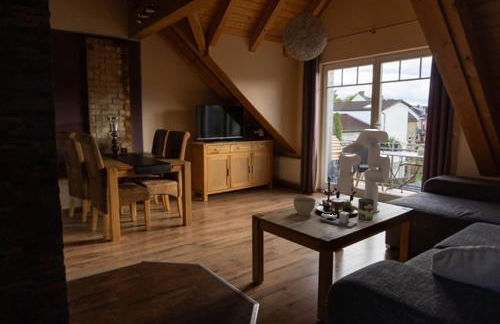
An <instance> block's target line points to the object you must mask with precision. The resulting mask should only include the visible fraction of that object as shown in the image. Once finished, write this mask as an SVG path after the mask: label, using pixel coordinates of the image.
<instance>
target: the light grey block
mask: <svg viewBox="0 0 500 324" xmlns="http://www.w3.org/2000/svg"><path fill="white" fill-rule="evenodd" d="M349 216H350V212H346V211H342V212H339V216H338V217H339V218H338V219H339V223H342V224H348V223H349V221H350V220H349V219H350V217H349Z"/></svg>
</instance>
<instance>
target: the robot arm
mask: <svg viewBox="0 0 500 324" xmlns="http://www.w3.org/2000/svg"><path fill="white" fill-rule="evenodd" d="M388 141H389V134H388V132H387V131H385V130H380V129H370V128H369V129H366V128H365V129H363V130H361V131H360V132H359V135H358V137H357V138H356V140H355V141H354V142H352V143H350V144H348V145H346V146H345V147H343V149H342V151H341V152H340V153H339V155H338V162H339V164H340V165H339V175H338V178H337V183H336V184H335V183H334V184H332V188H333V190H334V191H335V198H336V200H337V199H340V197H341V192H346V193H349V194H350V195H349V202H353V200H354V198H355V197H354V196H355V194H357V192H358V190H359V189H358V188H357V187H356V186H355V183H354V177H353V176H354V172H353V166H358V165H360V164H361V163H362V157H361V156H360V155H359V154H357V153H360V152H362V151H363V152H364V151H365V150H366V149H367V147H368V150H367V151H368V153H367V165H368V166H369V167H370V168H368V169H366V170H364V174H363V175H364V176H363V178H364V198H367V199H372V200H374V206H373V214H374V213H379V212H380V209H379V208H378V206H379V203H378V202H379V186H378V184H387V183H388V182H389V179H390V173H391V172H390V171H391V158H390V157H389V156H388V155H386V154H381V148H382V147H381V145H380V144H386V143H388ZM379 168H380V169H379Z"/></svg>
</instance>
